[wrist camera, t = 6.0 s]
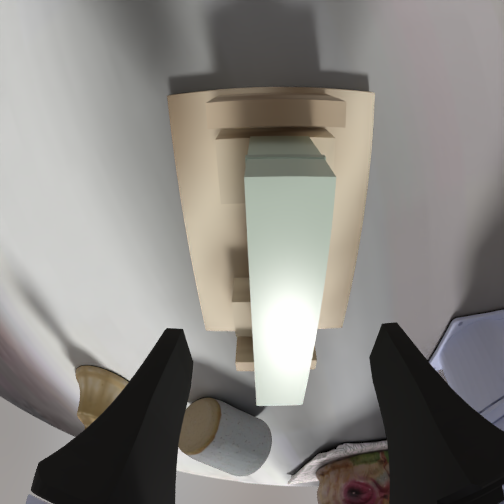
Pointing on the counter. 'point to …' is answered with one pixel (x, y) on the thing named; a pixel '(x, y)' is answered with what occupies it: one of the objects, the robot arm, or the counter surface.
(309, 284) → the glasses case
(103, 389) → the hand bell
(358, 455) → the cookie jar
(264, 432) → the ceramic mug
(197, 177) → the display stand
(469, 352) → the robot arm
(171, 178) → the counter surface
